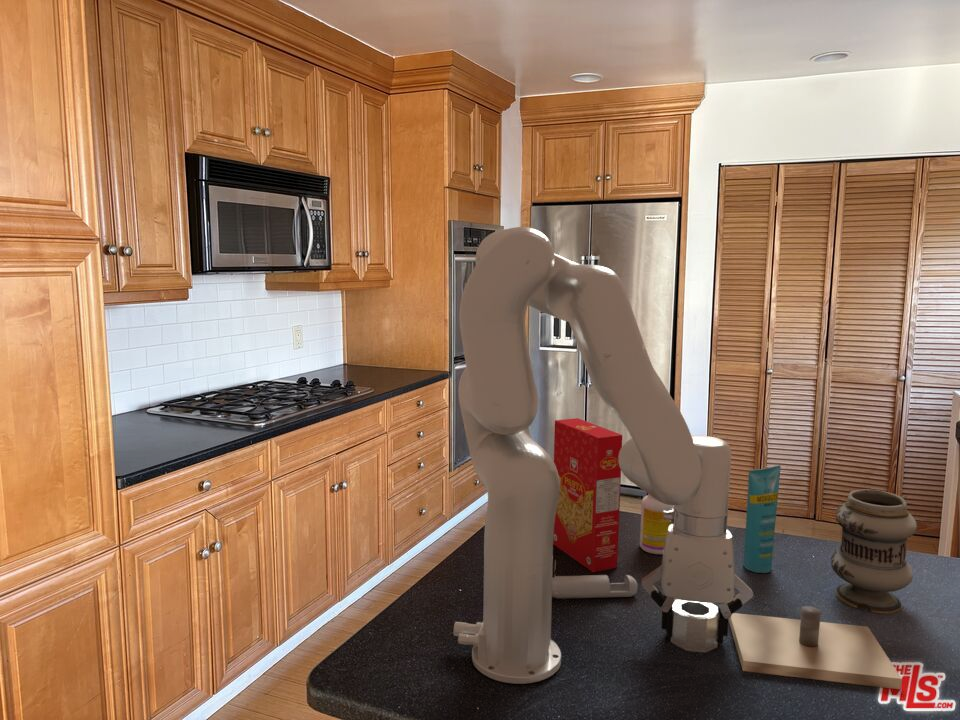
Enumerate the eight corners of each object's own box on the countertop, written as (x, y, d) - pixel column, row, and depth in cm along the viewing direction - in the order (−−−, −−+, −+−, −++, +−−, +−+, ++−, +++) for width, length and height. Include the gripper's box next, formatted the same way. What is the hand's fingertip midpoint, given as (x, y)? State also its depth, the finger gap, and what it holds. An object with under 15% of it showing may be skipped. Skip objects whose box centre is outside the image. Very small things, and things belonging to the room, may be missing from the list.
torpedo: (632, 589, 125) (633, 552, 124) (640, 602, 120) (642, 564, 119) (529, 591, 123) (529, 555, 122) (533, 604, 119) (533, 567, 118)
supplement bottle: (678, 556, 138) (681, 491, 136) (643, 555, 138) (646, 491, 136) (669, 542, 145) (672, 480, 143) (636, 542, 145) (639, 480, 143)
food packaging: (551, 542, 144) (554, 420, 140) (574, 538, 146) (577, 418, 143) (593, 572, 131) (597, 437, 127) (617, 567, 133) (622, 434, 129)
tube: (754, 577, 129) (761, 473, 127) (733, 567, 133) (739, 466, 131) (782, 568, 133) (789, 467, 130) (760, 559, 137) (767, 461, 134)
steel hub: (671, 648, 105) (673, 616, 104) (669, 626, 112) (670, 595, 111) (719, 654, 104) (721, 621, 103) (713, 631, 110) (715, 600, 110)
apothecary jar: (826, 606, 119) (835, 501, 116) (829, 578, 129) (837, 481, 127) (911, 624, 113) (922, 514, 111) (907, 593, 124) (917, 492, 121)
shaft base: (742, 670, 100) (745, 626, 99) (728, 621, 113) (731, 582, 112) (900, 689, 96) (905, 643, 95) (867, 636, 109) (870, 595, 109)
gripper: (639, 525, 103) (634, 642, 106) (767, 536, 100) (759, 656, 102) (638, 508, 110) (633, 618, 113) (758, 517, 107) (750, 630, 110)
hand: (693, 635), depth 108 cm, fingers closed on steel hub, 6 cm apart
